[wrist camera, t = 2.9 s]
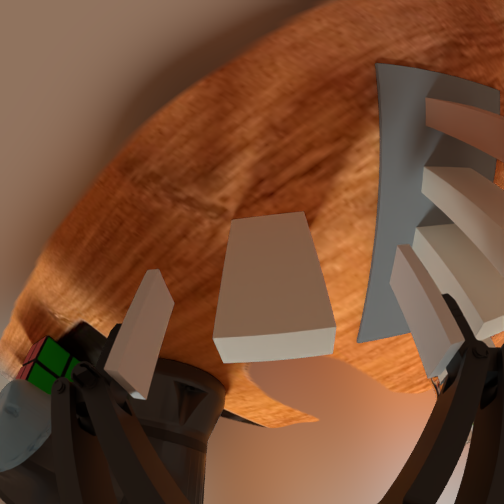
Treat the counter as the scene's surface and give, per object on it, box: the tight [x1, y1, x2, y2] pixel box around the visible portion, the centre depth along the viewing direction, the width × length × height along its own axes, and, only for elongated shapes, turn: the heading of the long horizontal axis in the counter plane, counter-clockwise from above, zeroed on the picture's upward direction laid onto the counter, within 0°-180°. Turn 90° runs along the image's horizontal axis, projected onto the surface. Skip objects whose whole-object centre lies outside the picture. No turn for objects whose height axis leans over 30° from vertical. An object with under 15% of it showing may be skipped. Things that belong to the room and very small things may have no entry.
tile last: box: [425, 97, 504, 163], centre depth 9 cm, size 5×2×10 cm, turn 99°
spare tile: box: [213, 211, 336, 363], centre depth 15 cm, size 5×2×10 cm, turn 99°
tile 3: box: [412, 224, 504, 341], centre depth 14 cm, size 5×2×10 cm, turn 99°
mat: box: [357, 63, 500, 343], centre depth 19 cm, size 12×26×1 cm, turn 9°
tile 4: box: [421, 166, 504, 278], centre depth 12 cm, size 5×2×10 cm, turn 99°
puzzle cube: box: [16, 336, 81, 395], centre depth 30 cm, size 10×10×10 cm
